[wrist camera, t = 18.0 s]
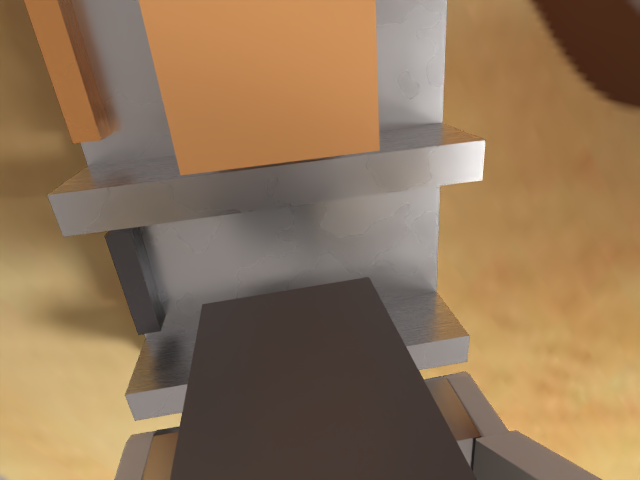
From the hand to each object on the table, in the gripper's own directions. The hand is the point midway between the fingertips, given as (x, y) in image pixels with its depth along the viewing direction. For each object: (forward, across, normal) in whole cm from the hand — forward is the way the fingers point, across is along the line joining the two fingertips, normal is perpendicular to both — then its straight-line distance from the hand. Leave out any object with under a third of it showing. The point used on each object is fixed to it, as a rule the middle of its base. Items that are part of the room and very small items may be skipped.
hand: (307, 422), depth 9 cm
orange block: (+8, 0, -7) cm, 11 cm away
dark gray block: (+2, 0, 0) cm, 2 cm away
